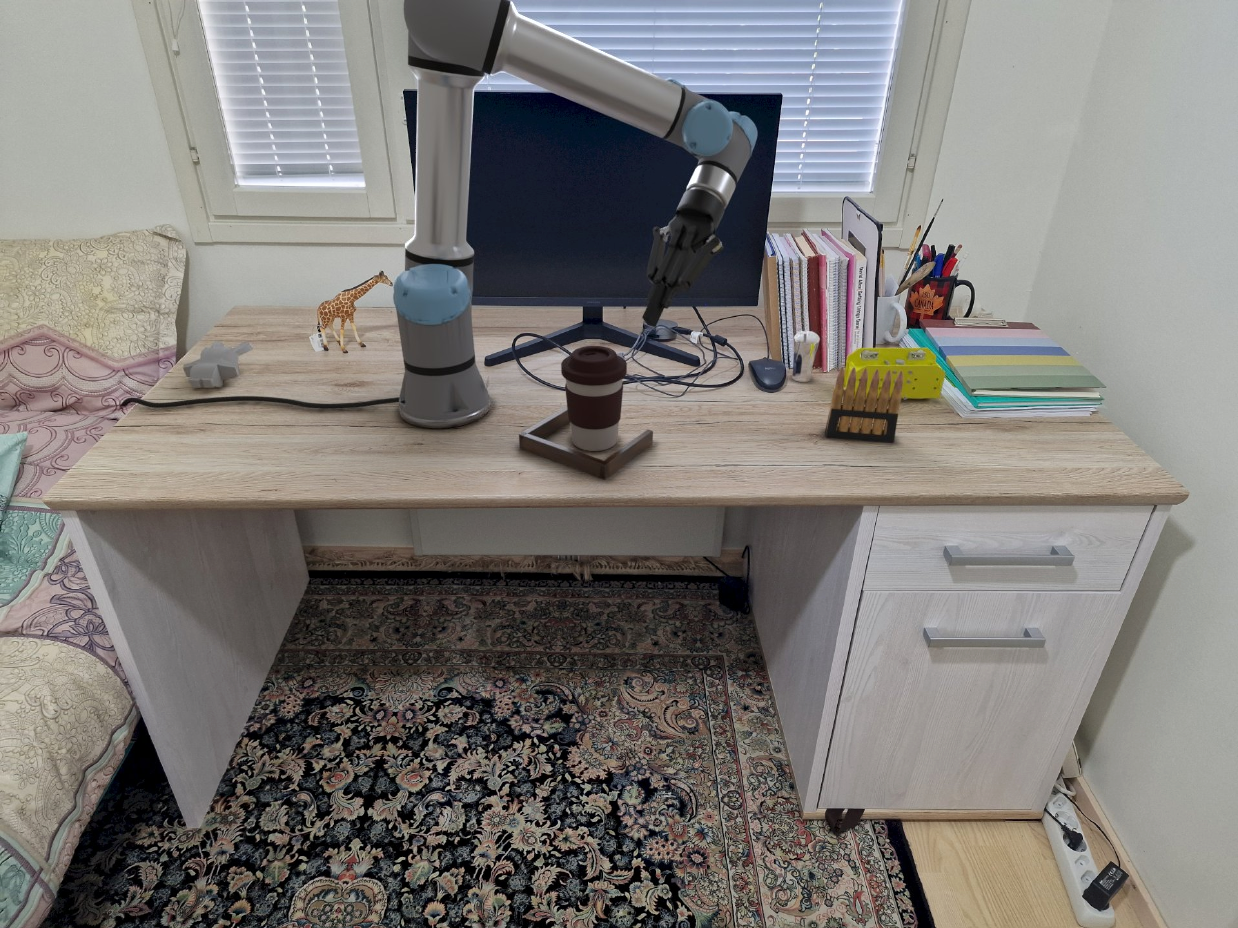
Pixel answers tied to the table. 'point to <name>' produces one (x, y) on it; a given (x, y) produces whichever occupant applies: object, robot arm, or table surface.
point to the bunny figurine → (215, 365)
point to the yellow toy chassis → (917, 371)
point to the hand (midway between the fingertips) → (648, 322)
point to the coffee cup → (594, 396)
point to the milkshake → (804, 355)
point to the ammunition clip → (864, 408)
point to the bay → (583, 462)
